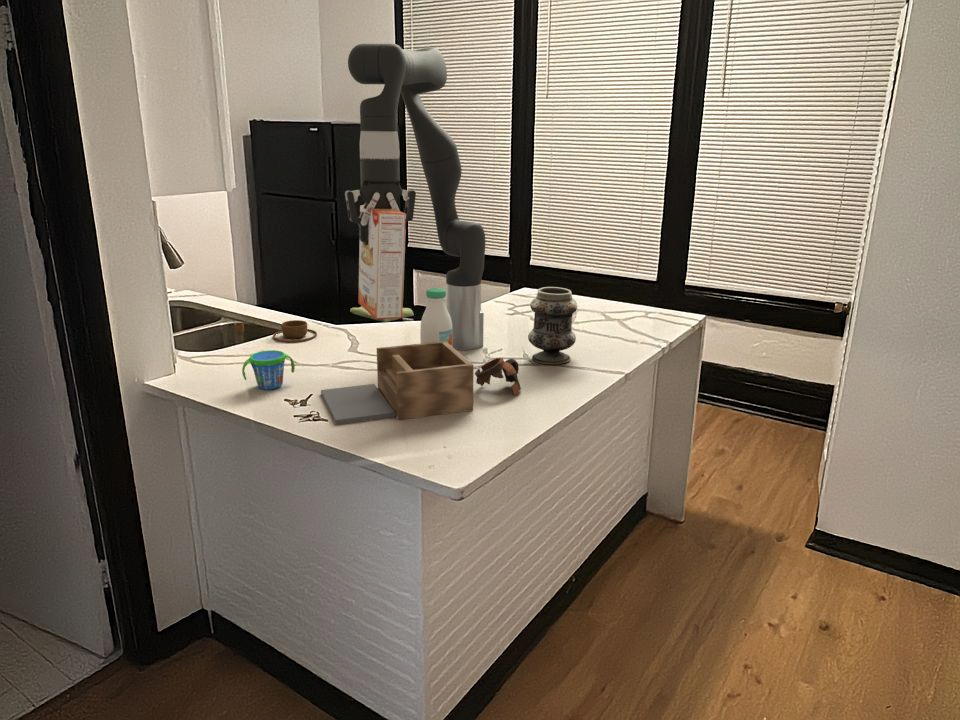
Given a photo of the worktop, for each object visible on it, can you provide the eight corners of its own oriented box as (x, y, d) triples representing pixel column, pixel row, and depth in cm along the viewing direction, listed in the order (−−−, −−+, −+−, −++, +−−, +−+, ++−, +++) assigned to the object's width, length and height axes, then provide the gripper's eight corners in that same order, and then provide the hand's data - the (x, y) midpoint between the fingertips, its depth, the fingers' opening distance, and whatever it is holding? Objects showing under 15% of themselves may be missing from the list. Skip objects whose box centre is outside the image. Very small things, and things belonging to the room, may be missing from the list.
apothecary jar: (584, 358, 184) (588, 290, 179) (555, 369, 176) (558, 297, 170) (546, 349, 192) (549, 282, 187) (517, 358, 184) (519, 289, 178)
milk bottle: (428, 377, 170) (427, 294, 164) (416, 367, 176) (414, 287, 170) (458, 372, 173) (458, 291, 167) (444, 363, 180) (444, 285, 173)
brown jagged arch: (513, 401, 156) (495, 369, 154) (481, 410, 161) (463, 379, 160) (536, 375, 164) (519, 344, 163) (505, 384, 170) (488, 355, 169)
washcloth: (379, 309, 234) (379, 299, 233) (416, 318, 222) (416, 308, 221) (347, 316, 225) (346, 306, 224) (383, 327, 213) (383, 316, 212)
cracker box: (356, 304, 152) (358, 203, 147) (383, 304, 155) (387, 205, 149) (373, 320, 140) (377, 211, 134) (403, 319, 142) (408, 212, 137)
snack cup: (245, 395, 158) (242, 363, 155) (242, 384, 164) (239, 353, 162) (298, 388, 162) (296, 357, 160) (293, 378, 169) (290, 347, 166)
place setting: (303, 350, 191) (302, 329, 189) (232, 346, 193) (230, 325, 192) (326, 333, 207) (325, 313, 205) (261, 329, 210) (259, 309, 208)
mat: (374, 387, 163) (374, 383, 162) (394, 416, 147) (394, 412, 146) (321, 394, 159) (320, 389, 158) (336, 424, 143) (335, 420, 142)
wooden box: (445, 382, 167) (445, 341, 163) (473, 410, 151) (473, 364, 147) (378, 390, 161) (376, 347, 158) (398, 420, 145) (397, 373, 142)
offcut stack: (406, 392, 161) (405, 353, 158) (421, 411, 150) (421, 370, 147) (386, 394, 159) (385, 355, 156) (401, 414, 148) (399, 372, 146)
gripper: (410, 155, 144) (411, 239, 149) (338, 155, 139) (342, 242, 144) (421, 157, 138) (422, 245, 143) (346, 156, 132) (349, 248, 137)
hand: (381, 243), depth 143 cm, fingers closed on cracker box, 6 cm apart
